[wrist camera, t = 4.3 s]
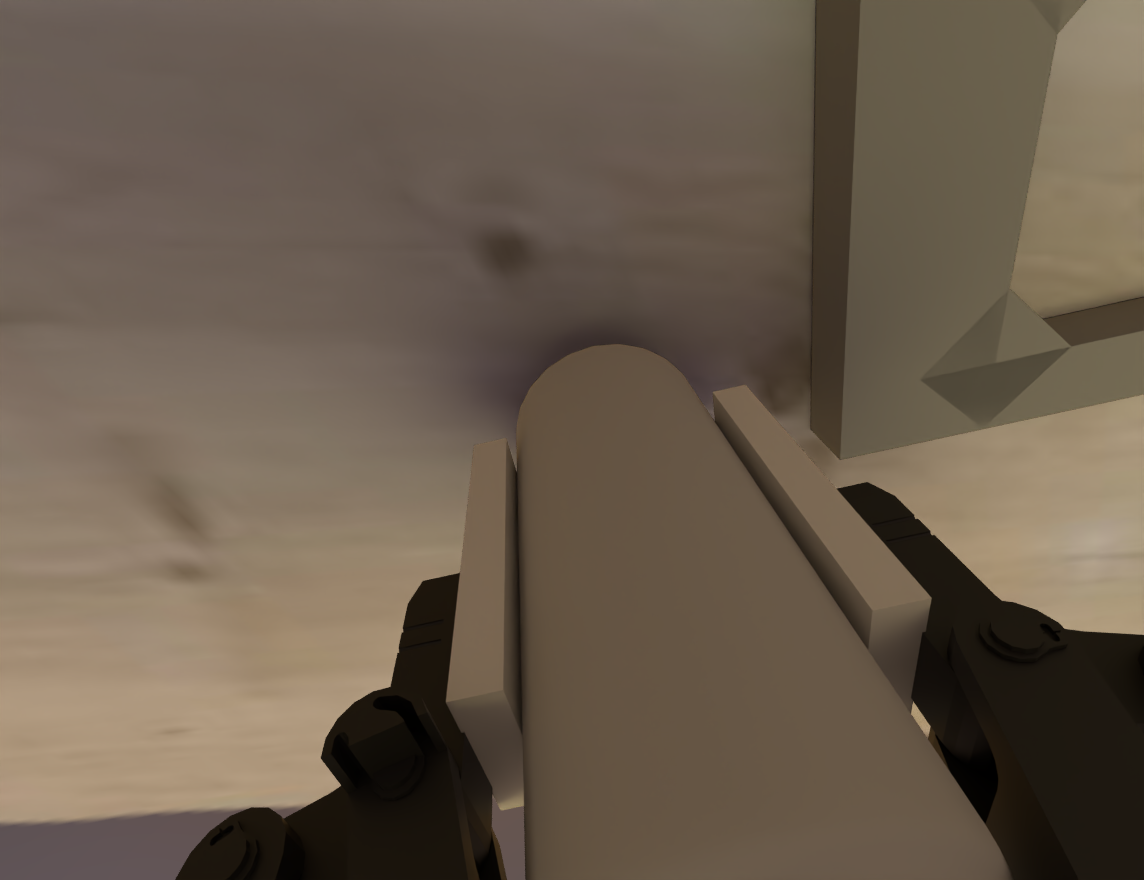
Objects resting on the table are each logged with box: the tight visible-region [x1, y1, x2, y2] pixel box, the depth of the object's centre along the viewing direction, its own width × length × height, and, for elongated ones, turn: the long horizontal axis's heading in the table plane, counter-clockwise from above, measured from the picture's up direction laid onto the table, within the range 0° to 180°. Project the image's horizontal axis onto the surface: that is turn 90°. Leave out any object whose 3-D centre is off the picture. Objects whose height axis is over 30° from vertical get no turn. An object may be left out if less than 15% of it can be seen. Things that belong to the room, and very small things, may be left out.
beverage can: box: [516, 344, 1013, 880], centre depth 10 cm, size 5×5×12 cm
